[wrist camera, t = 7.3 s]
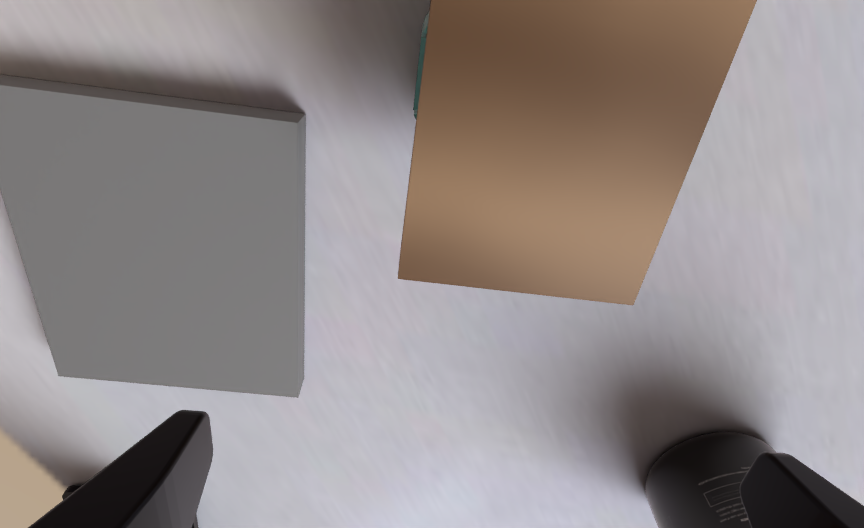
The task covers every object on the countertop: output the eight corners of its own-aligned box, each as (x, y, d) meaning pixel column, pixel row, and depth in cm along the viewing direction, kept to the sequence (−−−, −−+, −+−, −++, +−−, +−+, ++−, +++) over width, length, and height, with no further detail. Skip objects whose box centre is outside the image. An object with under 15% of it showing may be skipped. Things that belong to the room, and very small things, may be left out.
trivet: (303, 378, 23) (298, 397, 22) (75, 357, 22) (58, 376, 21) (305, 113, 17) (297, 122, 16) (-5, 73, 16) (-34, 80, 15)
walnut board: (615, 276, 15) (633, 305, 14) (400, 251, 15) (397, 278, 13) (770, -140, 10) (820, -157, 9) (454, -199, 10) (458, -224, 9)
